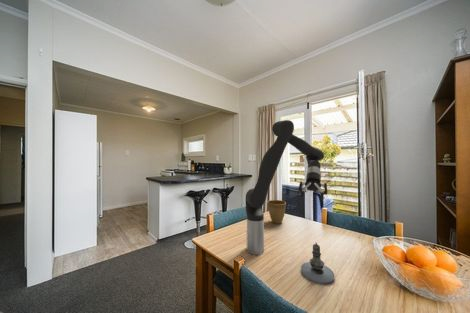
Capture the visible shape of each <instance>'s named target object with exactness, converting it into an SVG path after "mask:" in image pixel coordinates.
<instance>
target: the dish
mask: <svg viewBox="0 0 470 313" xmlns="http://www.w3.org/2000/svg"><path fill="white" fill-rule="evenodd" d="M311 267H312V266H311V264H310V261H306V262H303V263H301V266H300V271H301V274H302V275H303V277H304V278H305V279H307V280H309V281H310V282H312V283H315V284H319V285H329V284H332V283H333V282H334V281H335V273H334V271H333V270H332V269H331V268H329V267H328V266H327V265H325V264H324V266H323V268H322V269H323V271H324V273H323V274H315V273H313V272H312V271H311V270H310V268H311Z"/></svg>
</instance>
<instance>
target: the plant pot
mask: <svg viewBox="0 0 470 313" xmlns="http://www.w3.org/2000/svg"><path fill="white" fill-rule="evenodd" d="M266 204H267V209H268V213H269V216H270V219H271V222H272V223H273V222H274V223H273V224H276V223H280V224H281V223H283V220H284V217H285V213H286V207H287V202H286V201H285V200H281V199H279V200H278V199H271V200H267V202H266Z"/></svg>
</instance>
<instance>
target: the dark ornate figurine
mask: <svg viewBox="0 0 470 313" xmlns="http://www.w3.org/2000/svg"><path fill="white" fill-rule="evenodd" d="M311 254H312V258H310V259H309V261H308V262H310V264H311V266H312V267H311V268H310V270H311V271H312V272H313V273H315V274H323V273H324V271H323V269H322V268H323V266H324V265H325V262H324V261H323V260H321V255H322V253H321V247H320V245H319V244H318V242H315V244H313V245H312V251H311Z"/></svg>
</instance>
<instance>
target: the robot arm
mask: <svg viewBox="0 0 470 313" xmlns="http://www.w3.org/2000/svg"><path fill="white" fill-rule="evenodd" d="M271 130H272V133H273V135H274V136H275V137H276V139H275V141H274V142H273V144H272V145H271V146H270V147H269V148H268V149H267V151H266V152H265V153H264V154H263V157H262V160H261V162H260V164H259V170H258V177H257V181H256V184H255V185H254V188H250V189H249V190H247V192H246V193H245V213H246V252H247V254H251V255H253V256H257V255H261V254H264V252H265V229H264V228H265V224H264V222H265V219H264V218H265V216H264V212H263V210H262V209H263V208H262V207H263V205H264V204H265V202H266V200H267V196H268V193H269V189H270V186H271V184H272V181H273V179H274V176H275V173H276V171H277V169H278V166H279V164H280V162H281V159H282V156H283V154H284V152H285V149H286V147H287V145H288V144H289V145H291V146H293V147H294V148H295V149H296V150H297V151H299V152H300V153H301V154H302V155H304V156H305V158H306V162H307V170H306V178H305V182H303V181H300V182H299V185H298V192H299V194H300V193H301V199H302V200H305V194H306V193H307V192H308V191H310V192H312V191H313V192H317V193H318V194H320V195H319V196H320V197H319V198H320V202H322V201H324V198H325V197H324V196H325V195H326V196H327V195H328V184H327V182H324V183H321V182H322V180H321V178H322V174H321V173H322V171H321V166H322V165H321V162H320V161H322V160H323V159H324V157H325V153H324V152H323V151H322V150H321V149H320V148H318V147H316V146H313V145H311V143H309V142H308V141H307V140H305V139H303V137H299V136H297V135H296V134H294V131H295V124H294V122H293V121H292V120H290V119H285V120H279V121H276V122H274V123H273V125H272V128H271ZM321 187H322V188H323V189H324V190H323V189H322V188H321Z"/></svg>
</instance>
